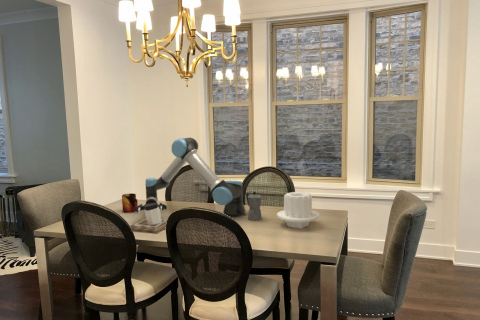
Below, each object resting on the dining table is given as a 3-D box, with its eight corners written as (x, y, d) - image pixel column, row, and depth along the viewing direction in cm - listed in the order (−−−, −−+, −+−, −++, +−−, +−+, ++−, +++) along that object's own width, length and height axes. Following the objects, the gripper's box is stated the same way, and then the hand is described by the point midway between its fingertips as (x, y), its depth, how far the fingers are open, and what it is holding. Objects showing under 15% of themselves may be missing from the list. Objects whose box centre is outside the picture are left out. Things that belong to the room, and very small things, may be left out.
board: (175, 222, 240) (175, 218, 240) (157, 233, 220) (156, 228, 219) (145, 220, 247) (145, 216, 247) (124, 230, 227) (124, 226, 227)
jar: (145, 225, 232) (140, 206, 230) (154, 221, 239) (150, 202, 237) (155, 225, 227) (151, 206, 226) (164, 220, 234) (160, 202, 232)
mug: (137, 213, 266) (136, 196, 264) (120, 212, 270) (119, 196, 268) (144, 210, 275) (143, 193, 274) (127, 209, 279) (126, 193, 277)
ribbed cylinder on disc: (305, 234, 212) (305, 201, 210) (268, 226, 228) (268, 195, 226) (326, 223, 231) (326, 193, 228) (291, 217, 247) (291, 188, 245)
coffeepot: (266, 220, 242) (266, 192, 240) (254, 222, 237) (254, 194, 235) (252, 215, 255) (252, 188, 253) (241, 217, 250) (240, 190, 248)
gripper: (170, 207, 261) (170, 215, 240) (132, 210, 256) (129, 218, 235) (169, 197, 260) (170, 204, 239) (132, 199, 255) (129, 206, 234)
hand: (150, 211), depth 237 cm, fingers open, 13 cm apart
